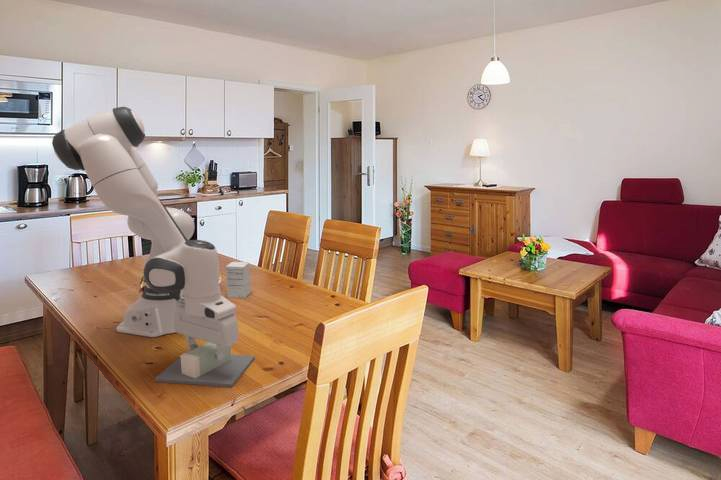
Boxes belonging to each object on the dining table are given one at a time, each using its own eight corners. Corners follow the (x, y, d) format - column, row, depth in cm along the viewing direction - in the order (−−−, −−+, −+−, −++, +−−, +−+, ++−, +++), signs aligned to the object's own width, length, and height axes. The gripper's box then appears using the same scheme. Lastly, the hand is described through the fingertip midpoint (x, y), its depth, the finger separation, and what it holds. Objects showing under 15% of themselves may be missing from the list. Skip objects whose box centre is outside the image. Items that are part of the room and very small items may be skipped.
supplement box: (233, 292, 189) (231, 261, 187) (251, 292, 189) (250, 262, 186) (226, 297, 182) (224, 266, 180) (245, 298, 181) (243, 266, 179)
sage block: (217, 355, 129) (181, 373, 119) (216, 338, 128) (180, 355, 118) (231, 360, 127) (195, 378, 116) (230, 342, 126) (194, 359, 116)
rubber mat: (154, 381, 116) (154, 378, 116) (186, 354, 132) (186, 351, 132) (231, 387, 114) (231, 384, 114) (254, 358, 129) (254, 355, 129)
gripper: (165, 300, 122) (169, 350, 125) (222, 314, 112) (225, 368, 114) (185, 294, 127) (189, 342, 130) (241, 307, 117) (243, 359, 120)
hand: (206, 354), depth 122 cm, fingers open, 8 cm apart
